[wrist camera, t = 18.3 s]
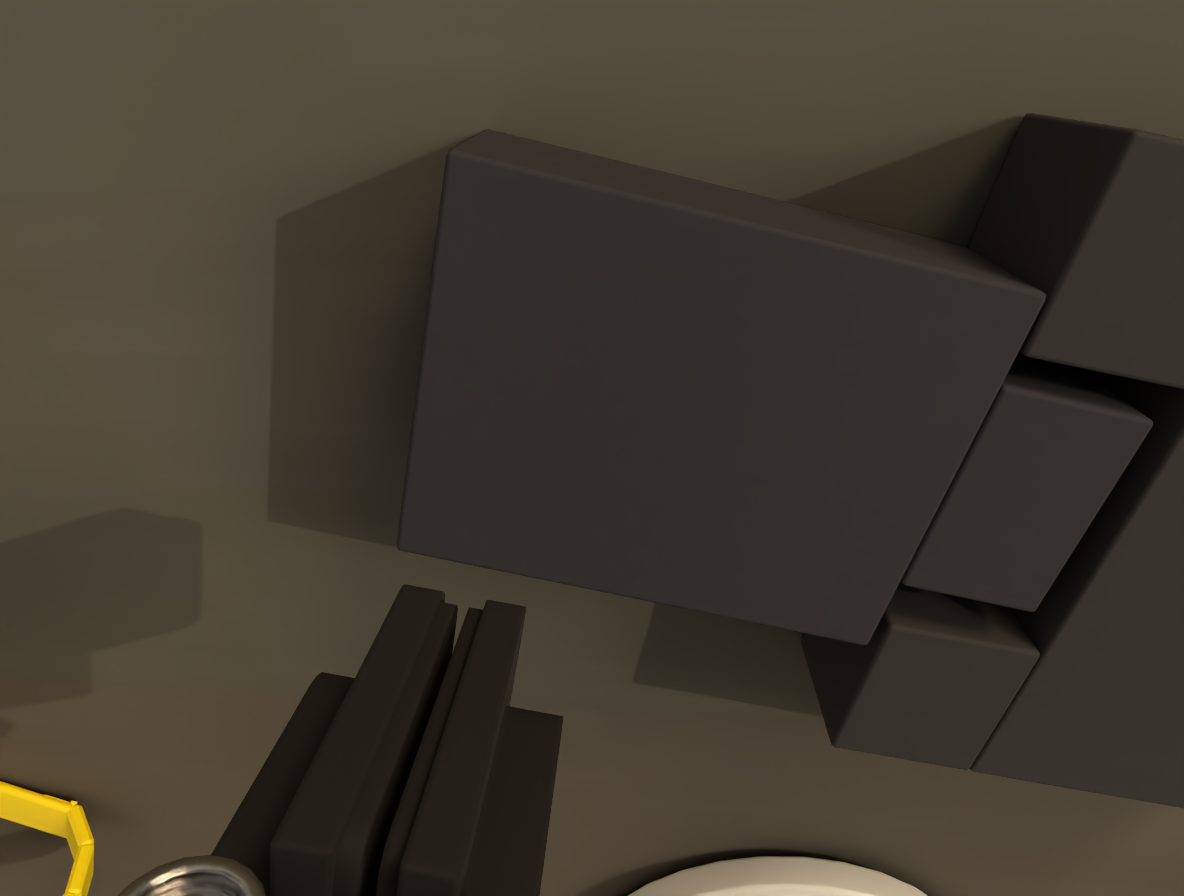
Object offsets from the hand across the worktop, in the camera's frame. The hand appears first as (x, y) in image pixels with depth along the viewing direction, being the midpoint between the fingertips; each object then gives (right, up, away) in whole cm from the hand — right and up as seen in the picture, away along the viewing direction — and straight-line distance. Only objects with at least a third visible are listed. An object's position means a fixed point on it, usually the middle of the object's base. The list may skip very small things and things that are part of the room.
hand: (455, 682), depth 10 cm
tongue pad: (+5, +5, +5) cm, 8 cm away
